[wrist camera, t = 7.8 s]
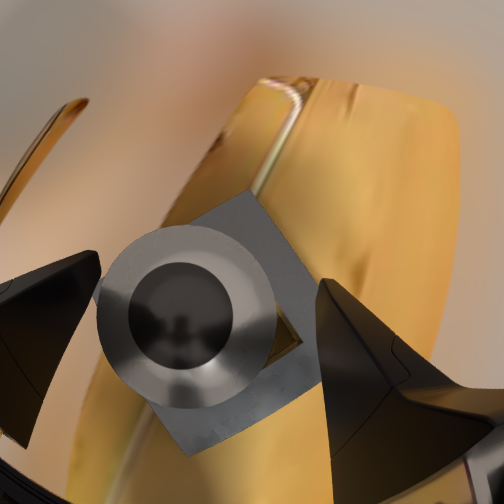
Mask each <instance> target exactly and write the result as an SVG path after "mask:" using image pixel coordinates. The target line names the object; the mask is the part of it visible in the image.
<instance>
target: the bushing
mask: <svg viewBox="0 0 504 504" xmlns="http://www.w3.org/2000/svg"><path fill="white" fill-rule="evenodd" d="M96 318H97V330H98V334H99V339H100V343H101V346H102V349H103V351H104V354H105V356H106V358H107V360H108V362H109V363H110V365H111V366H112V368H113V370H114V371H115V372H116V374H117V375H118V376H119V377H120V378H121V380H122V381H123V382H124V383H125V384H127V385H128V386H129V387H130V388H131V389H132V390H134V391H135V392H136V393H138V394H139V395H141V396H142V397H144V398H146V399H148V400H150V401H152V402H155V403H158V404H160V405H163V406H167V407H172V408H179V409H197V408H204V407H209V406H213V405H216V404H218V403H221V402H224V401H226V400H228V399H230V398H231V397H233V396H235V395H236V394H238V393H239V392H241V391H242V390H243V389H245V388H246V387H247V386H248V385H249V384H250V383H251V382H252V381H253V380H254V379H255V377H256V376H257V375H258V374H259V372H260V371H261V370H262V368H263V366H264V364H265V363H266V361H267V359H268V357H269V354H270V352H271V349H272V347H273V343H274V338H275V334H276V324H277V313H276V304H275V298H274V294H273V291H272V288H271V284H270V282H269V280H268V278H267V276H266V274H265V272H264V270H263V269H262V267H261V266H260V264H259V262H258V261H257V260H256V259H255V258H254V256H253V255H252V254H251V253H250V252H249V251H248V250H247V249H246V248H245V247H243V246H242V245H241V244H240V243H238V242H237V241H235V240H234V239H233V238H231V237H229V236H227V235H225V234H223V233H221V232H219V231H216V230H213V229H210V228H206V227H202V226H194V225H176V226H170V227H165V228H161V229H158V230H155V231H153V232H150V233H148V234H146V235H144V236H142V237H140V238H139V239H137V240H136V241H134V242H133V243H132V244H130V245H129V246H128V247H127V248H126V249H125V250H124V251H123V252H122V253H121V254H120V255H119V256H118V257H117V258H116V260H115V261H114V262H113V264H112V265H111V267H110V269H109V271H108V272H107V274H106V276H105V278H104V281H103V283H102V286H101V289H100V293H99V297H98V303H97V317H96Z"/></svg>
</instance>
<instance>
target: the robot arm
mask: <svg viewBox="0 0 504 504" xmlns="http://www.w3.org/2000/svg"><path fill="white" fill-rule="evenodd" d="M100 277H101V266H100V260H99V256H98V253H97V252H96V251H93V250H85V251H83V252H80V253H77V254H75V255H72V256H69V257H67V258H64V259H61V260H59V261H56V262H53V263H51V264H49V265H46V266H43V267H41V268H38V269H36V270H33V271H31V272H28V273H26V274H23V275H21V276H19V277H16V278H14V280H13V279H11V280H9V281H7V282H4V283H2V284H0V437H1V435H2V434H4V435H5V436H6V437H8V438H9V439H11V440H12V441H13V442H15V443H16V444H18V445H19V446H21V447H22V448H24V449H25V450H26V449H27V447H28V444H29V441H30V438H31V435H32V432H33V429H34V426H35V423H36V420H37V417H38V414H39V412H40V409H41V406H42V403H43V400H44V398H45V396H46V393H47V391H48V388H49V386H50V383H51V381H52V379H53V376H54V374H55V372H56V369H57V367H58V365H59V363H60V361H61V358H62V356H63V354H64V352H65V350H66V348H67V346H68V344H69V342H70V339H71V338H72V336H73V334H74V332H75V330H76V328H77V326H78V324H79V322H80V320H81V318H82V316H83V314H84V313H85V311H86V309H87V307H88V304H89V302H90V299H91V297H92V295H93V293H94V290H95V288H96V286H97V284H98V282H99V279H100ZM315 315H316V343H317V351H318V358H319V365H320V372H321V379H322V387H323V394H324V402H325V411H326V419H327V428H328V438H329V448H330V458H331V472H332V485H333V501H334V504H504V389H476V388H475V389H473V388H467V387H463V386H461V385H459V384H457V383H455V382H453V381H452V380H451V379H450V378H449V377H447V376H446V375H445V374H443V373H442V372H441V371H440V370H438V369H437V368H436V367H434V366H433V365H432V364H431V363H429V362H428V361H427V360H426V359H424V358H423V357H422V356H421V355H419V354H418V353H417V352H416V351H414V350H413V349H412V348H411V347H410V346H409V345H408V344H406V343H405V342H404V341H403V340H402V339H401V338H400V337H399V336H398V335H396V334H395V333H394V332H393V331H392V330H391V329H390V328H389V327H388V326H386V325H385V324H384V323H383V322H382V321H381V320H380V319H379V318H378V317H376V316H375V315H374V314H373V313H372V312H371V311H370V310H369V309H367V308H366V307H365V306H364V305H363V304H362V303H361V302H359V301H358V300H357V299H356V298H355V297H354V296H353V295H351V294H350V293H349V292H348V291H347V290H346V289H345V288H343V287H342V286H341V285H340V284H339V283H338V282H336V281H335V280H334V279H329V278H322V279H321V281H320V284H319V288H318V292H317V295H316V300H315ZM395 335H396V336H395ZM0 504H73V503H71V502H69V501H67V500H65V499H64V498H61V497H60V496H58V495H56V494H54V493H53V492H51V491H49V490H48V489H46V488H44V487H43V486H41V485H39V484H38V483H36V482H35V481H33V480H31V479H30V478H28V477H27V476H25V475H24V474H22V473H21V472H20V471H18V470H17V469H15V468H14V467H13V466H11V465H10V464H8V463H7V462H6V461H5V460H3V459H2V458H1V457H0Z"/></svg>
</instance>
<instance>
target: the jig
mask: <svg viewBox="0 0 504 504" xmlns="http://www.w3.org/2000/svg"><path fill="white" fill-rule="evenodd" d="M187 225H194V226H202V227H206V228H210V229H213V230H216V231H219V232H221V233H223V234H225V235H227V236H229V237H231V238H233V239H234V240H235V241H237V242H238V243H240V244H241V245H242V246H243V247H245V248H246V249H247V250H248V251H249V252H250V253H251V254H252V255H253V256H254V258H255V259H256V260H257V261H258V262H259V264H260V266H261V267H262V269H263V270H264V272H265V274H266V276H267V278H268V280H269V282H270V284H271V288H272V291H273V294H274V298H275V304H276V312H277V313H278V315H279V316H280V318H281V319H282V321H283V322H284V324H285V325H286V327H287V328H288V330H289V331H290V333H291V334H292V336H293V337H294V339H295V340H296V342H295V343H293V344H292V345H290V346H289V347H287V348H286V349H284V350H283V351H281V352H280V353H278V354H277V355H275V356H273V357H272V358H270V359H269V360H267V361H266V363H265V364H264V366H263V368H262V370H261V371H260V372H259V374H258V375H257V376H256V377H255V379H254V380H253V381H252V382H251V383H250V384H249V385H248V386H247V387H246V388H245V389H243V390H242V391H241V392H239V393H238V394H236V395H235V396H233V397H231V398H230V399H228V400H226V401H224V402H221V403H218V404H216V405H213V406H209V407H204V408H197V409H179V408H172V407H167V406H163V405H160V404H158V403H155V402H152V401H150V400H148V399H146V400H147V401H148V403H149V405H150V406H151V408H152V409H153V411H154V412H155V414H156V415H157V417H158V418H159V420H160V421H161V422H162V424H163V425H164V427H165V428H166V430H167V431H168V432H169V434H170V435H171V436H172V438H173V439H174V441H175V442H176V443H177V445H178V446H179V447H180V448H181V450H182V451H183V452H184V454H185V455H186V456H187V457H189V456H191V455H193V454H196V453H198V452H200V451H202V450H204V449H207V448H209V447H211V446H213V445H215V444H217V443H219V442H221V441H223V440H225V439H227V438H229V437H231V436H233V435H235V434H237V433H239V432H240V431H242V430H244V429H246V428H248V427H250V426H251V425H253V424H255V423H257V422H259V421H260V420H262V419H264V418H265V417H267V416H269V415H270V414H272V413H274V412H275V411H277V410H279V409H280V408H282V407H284V406H285V405H287V404H288V403H290V402H291V401H293V400H295V399H296V398H298V397H299V396H301V395H302V394H304V393H305V392H307V391H308V390H310V389H311V388H312V387H314V386H315V385H317V384H318V383H320V382H321V381H322V379H321V372H320V365H319V358H318V351H317V343H316V315H315V300H316V295H317V292H318V288H319V286H318V285H317V283H316V282H315V281H314V279H313V278H312V276H311V275H310V273H309V272H308V270H307V269H306V267H305V266H304V265H303V263H302V262H301V260H300V259H299V257H298V256H297V255H296V253H295V252H294V250H293V249H292V247H291V246H290V245H289V243H288V242H287V240H286V239H285V237H284V236H283V235H282V233H281V232H280V230H279V229H278V228H277V226H276V225H275V223H274V222H273V221H272V219H271V218H270V216H269V215H268V214H267V212H266V211H265V210H264V208H263V207H262V205H261V204H260V203H259V201H258V200H257V199H256V197H255V196H254V195H253V193H252V192H251V190H250V189H248V190H246V191H244V192H242V193H240V194H239V195H237V196H235V197H233V198H232V199H230V200H228V201H226V202H224V203H223V204H221V205H219V206H217V207H216V208H214V209H212V210H210V211H209V212H207V213H205V214H204V215H202V216H200V217H198V218H197V219H195V220H193V221H192V222H190V223H188V224H187ZM104 278H105V277H103V278H102V279H100V280H99V282H98V284H97V286H96V288H95V290H94V293H93V295H92V296H93V299H94V301H95V303H96V306H97V303H98V297H99V293H100V289H101V286H102V283H103V281H104Z"/></svg>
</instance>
